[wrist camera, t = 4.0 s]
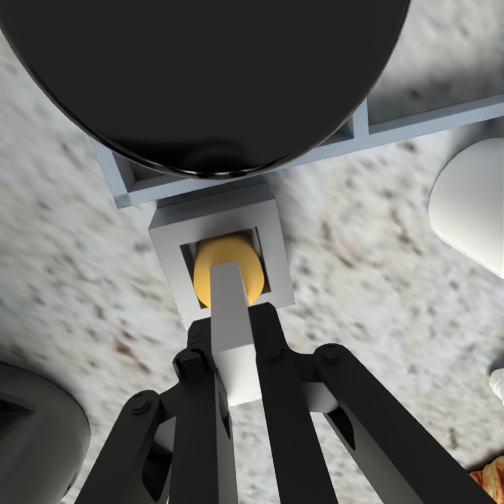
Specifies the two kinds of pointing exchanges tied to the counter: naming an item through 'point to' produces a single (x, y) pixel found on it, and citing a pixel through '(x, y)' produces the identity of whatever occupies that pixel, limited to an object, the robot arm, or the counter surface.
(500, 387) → the lightbulb
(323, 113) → the supplement container
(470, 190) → the pill bottle
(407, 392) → the counter surface
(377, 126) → the frame
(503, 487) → the croissant
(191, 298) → the grey egg holder
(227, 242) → the button
